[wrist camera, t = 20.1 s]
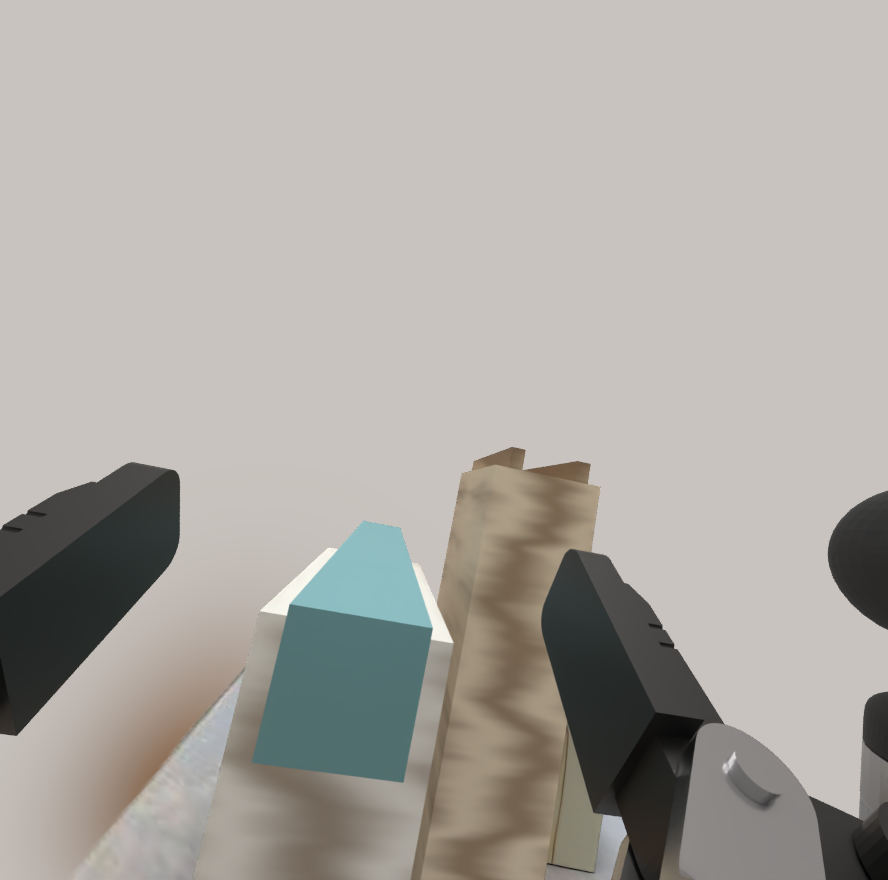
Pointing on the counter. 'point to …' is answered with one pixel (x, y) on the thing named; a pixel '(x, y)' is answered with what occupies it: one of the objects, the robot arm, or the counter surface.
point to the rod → (350, 664)
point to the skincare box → (573, 816)
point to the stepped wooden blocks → (429, 714)
